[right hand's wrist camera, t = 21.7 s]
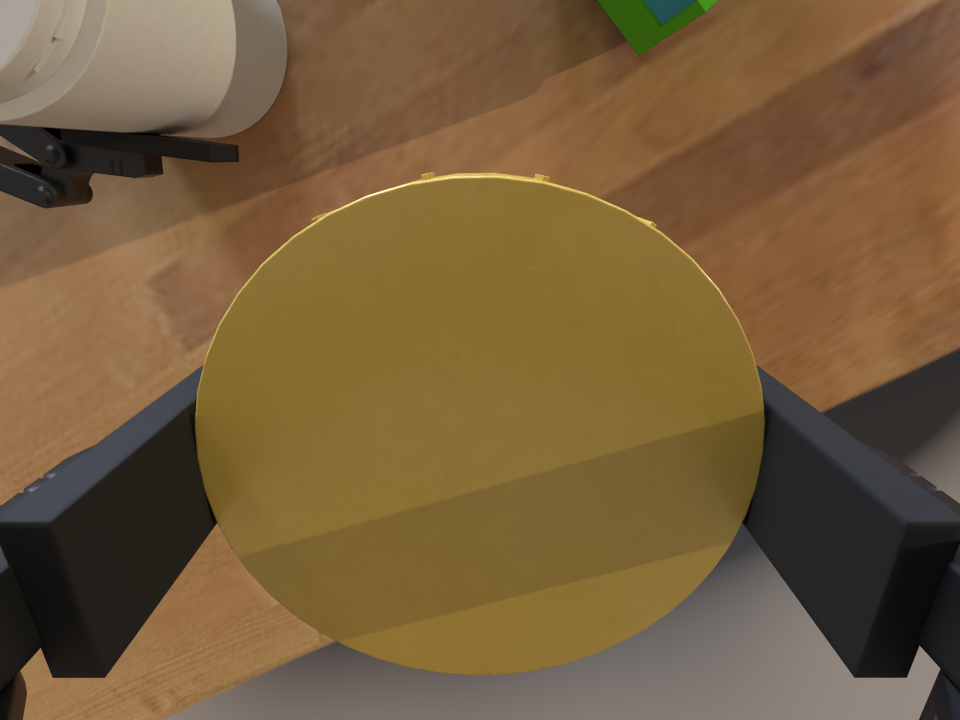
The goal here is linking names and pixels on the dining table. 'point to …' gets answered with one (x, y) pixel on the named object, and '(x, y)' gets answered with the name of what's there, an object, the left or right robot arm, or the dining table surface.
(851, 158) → the dining table surface
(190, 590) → the dining table surface
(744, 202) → the dining table surface
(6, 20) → the jar
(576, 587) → the lid
